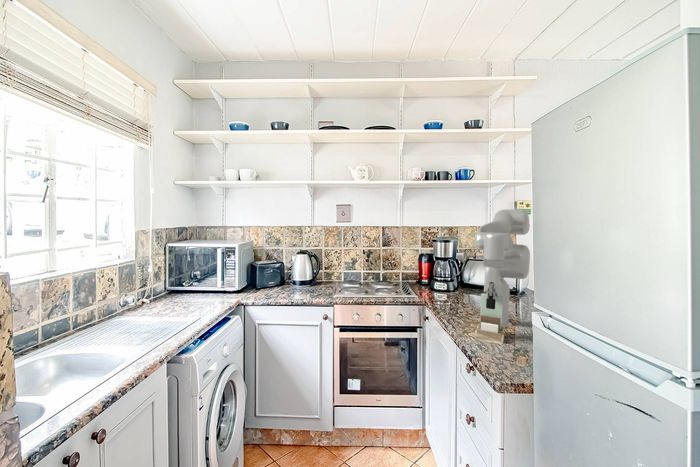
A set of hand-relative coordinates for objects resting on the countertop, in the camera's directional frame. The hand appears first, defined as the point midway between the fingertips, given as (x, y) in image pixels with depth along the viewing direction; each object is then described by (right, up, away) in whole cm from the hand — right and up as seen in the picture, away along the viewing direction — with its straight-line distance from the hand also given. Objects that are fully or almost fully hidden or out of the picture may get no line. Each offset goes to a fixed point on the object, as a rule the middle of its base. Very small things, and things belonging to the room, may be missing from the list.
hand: (491, 305), depth 124 cm
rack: (-2, -13, -2) cm, 13 cm away
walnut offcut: (-2, -12, -2) cm, 12 cm away
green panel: (0, -12, 0) cm, 12 cm away
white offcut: (-3, -12, -5) cm, 13 cm away
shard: (-2, -13, +18) cm, 22 cm away
